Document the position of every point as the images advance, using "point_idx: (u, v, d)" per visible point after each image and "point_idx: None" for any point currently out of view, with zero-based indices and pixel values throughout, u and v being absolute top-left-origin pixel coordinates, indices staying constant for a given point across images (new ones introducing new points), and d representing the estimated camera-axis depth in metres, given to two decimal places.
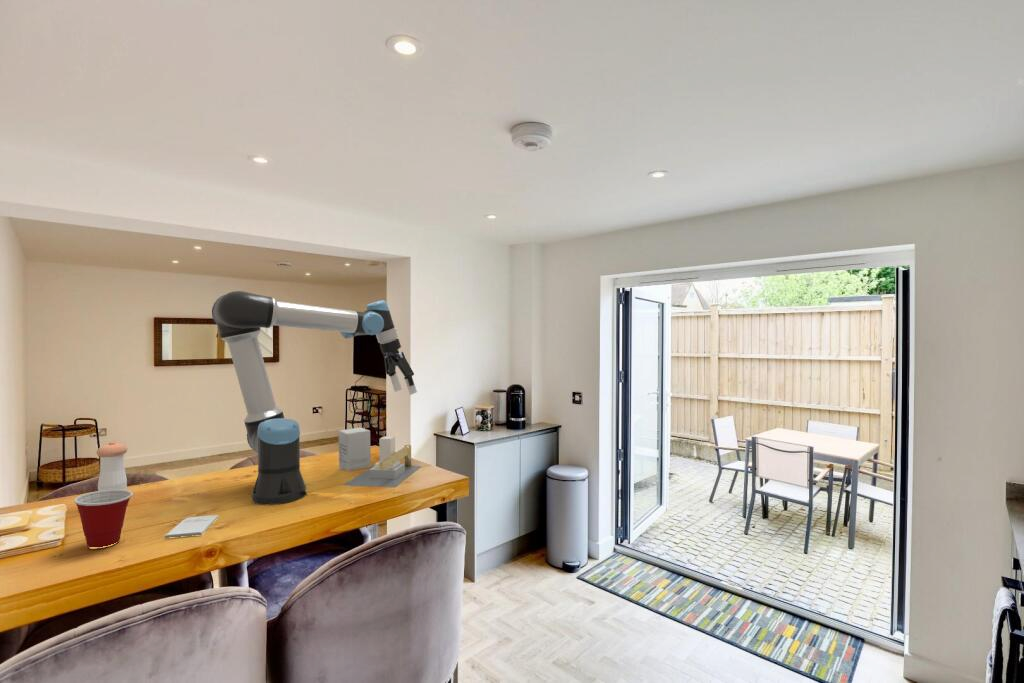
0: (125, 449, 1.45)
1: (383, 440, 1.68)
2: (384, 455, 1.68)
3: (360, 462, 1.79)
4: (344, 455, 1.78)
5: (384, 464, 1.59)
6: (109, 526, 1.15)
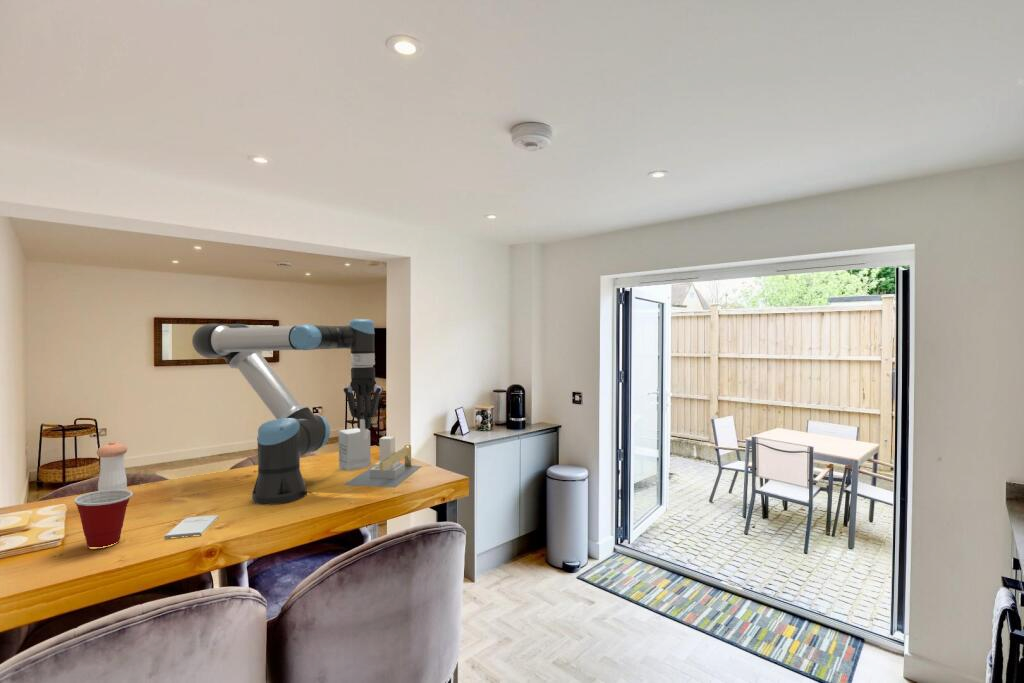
0: (125, 449, 1.45)
1: (383, 440, 1.68)
2: (384, 455, 1.68)
3: (360, 462, 1.79)
4: (344, 455, 1.78)
5: (384, 464, 1.59)
6: (109, 526, 1.15)
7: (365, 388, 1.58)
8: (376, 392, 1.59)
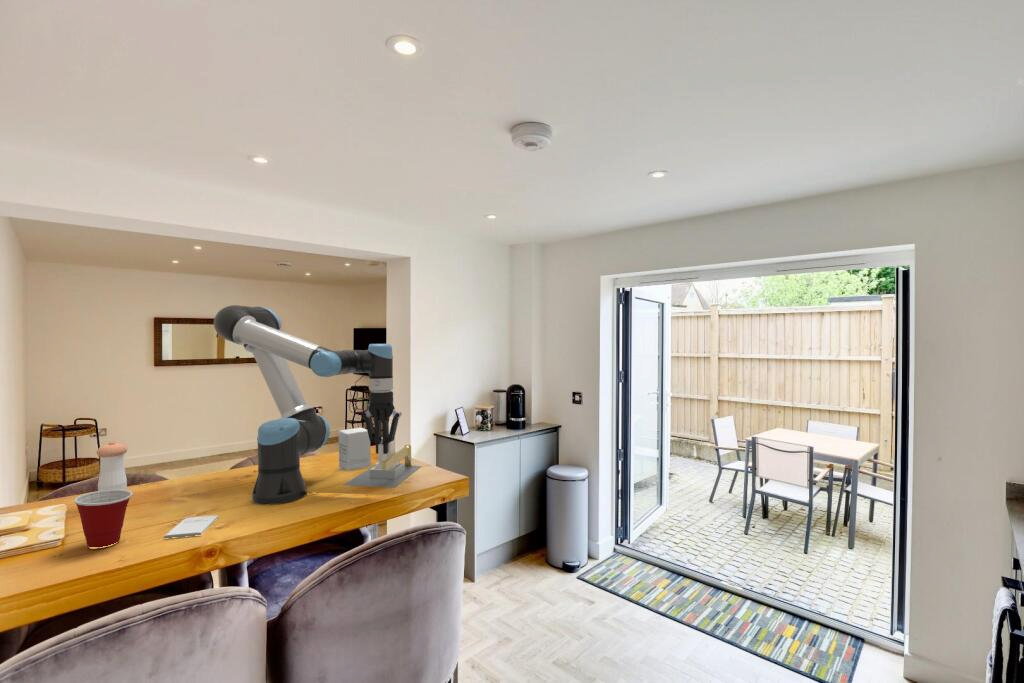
0: (125, 449, 1.45)
1: None
2: None
3: (360, 462, 1.79)
4: (344, 455, 1.78)
5: (386, 465, 1.58)
6: (109, 526, 1.15)
7: (384, 413, 1.58)
8: (395, 417, 1.58)
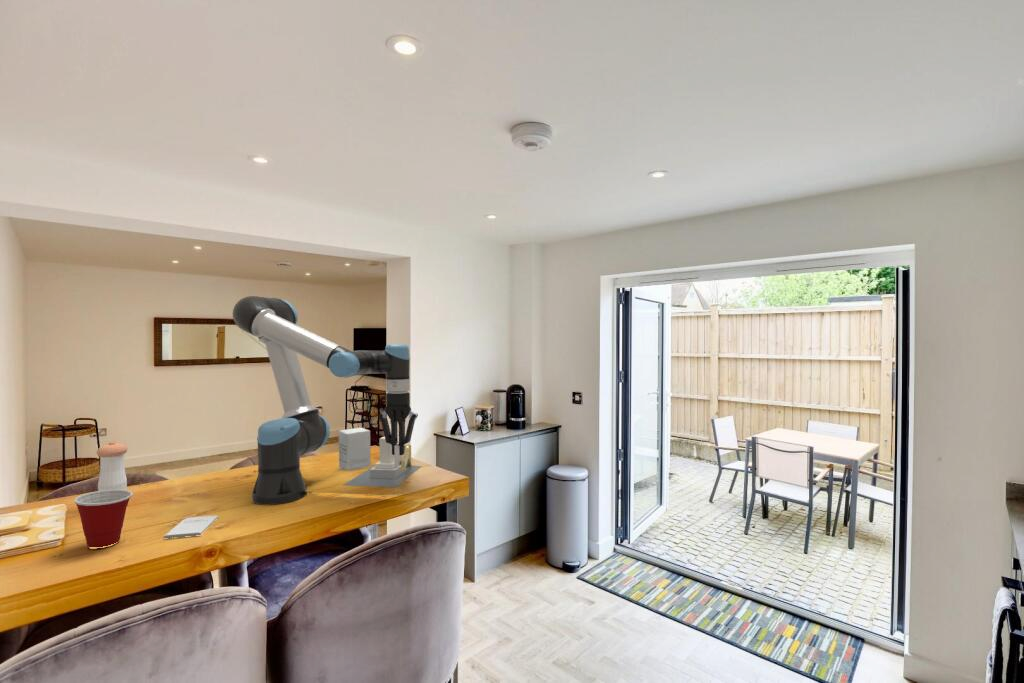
0: (125, 449, 1.45)
1: (383, 440, 1.68)
2: (384, 455, 1.68)
3: (360, 462, 1.79)
4: (344, 455, 1.78)
5: (405, 464, 1.59)
6: (109, 526, 1.15)
7: (400, 414, 1.57)
8: (411, 418, 1.57)
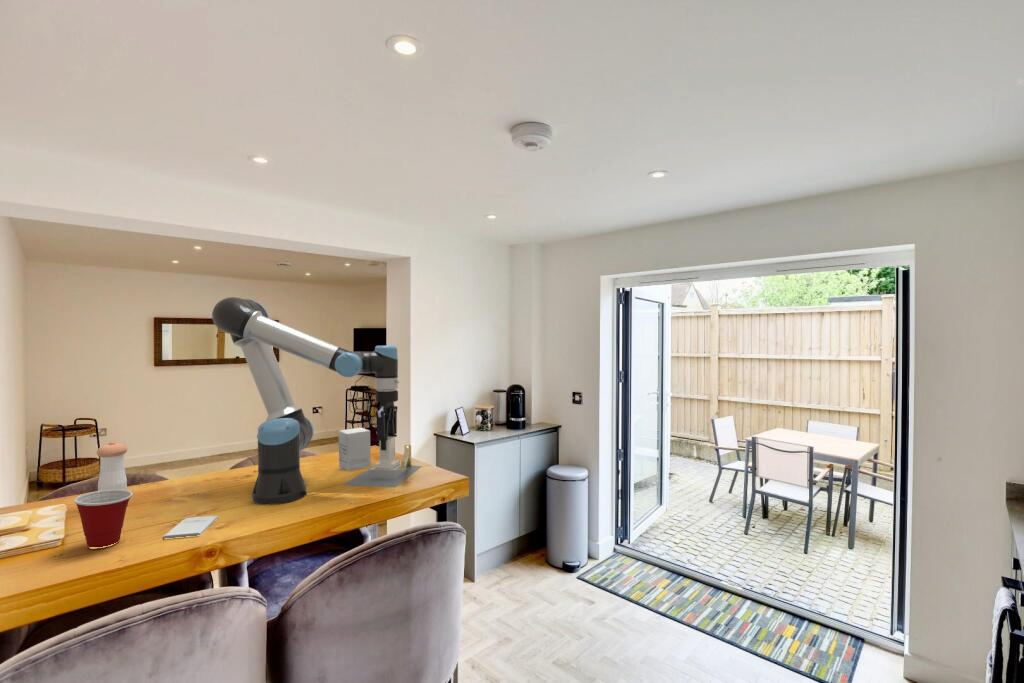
0: (125, 449, 1.45)
1: None
2: None
3: (360, 462, 1.79)
4: (344, 455, 1.78)
5: (405, 464, 1.59)
6: (109, 526, 1.15)
7: (393, 409, 1.71)
8: (396, 410, 1.75)
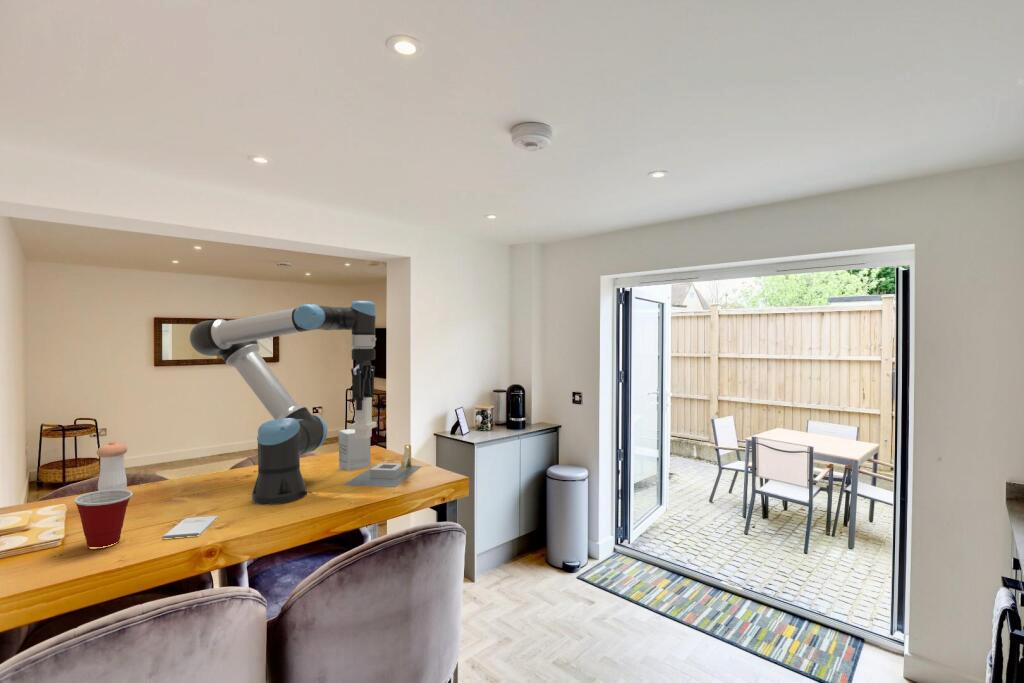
0: (125, 449, 1.45)
1: None
2: None
3: (360, 462, 1.79)
4: (344, 455, 1.78)
5: (405, 464, 1.59)
6: (109, 526, 1.15)
7: (370, 368, 1.63)
8: (373, 370, 1.67)
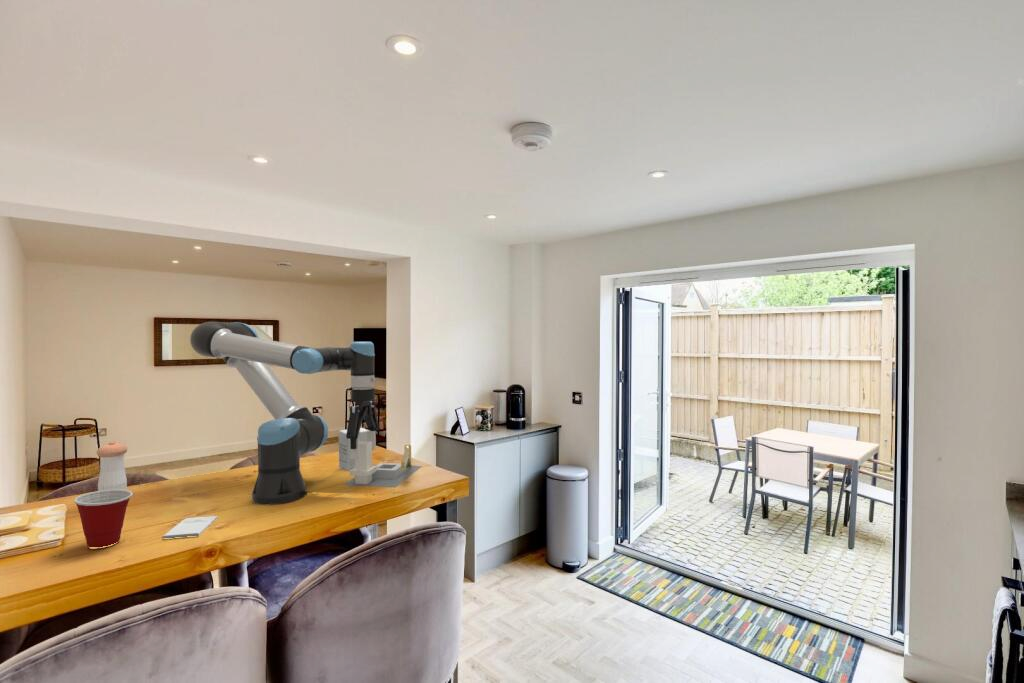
0: (125, 449, 1.45)
1: (359, 445, 1.60)
2: (359, 461, 1.60)
3: None
4: (344, 455, 1.78)
5: (405, 464, 1.59)
6: (109, 526, 1.15)
7: (370, 407, 1.63)
8: (374, 406, 1.67)
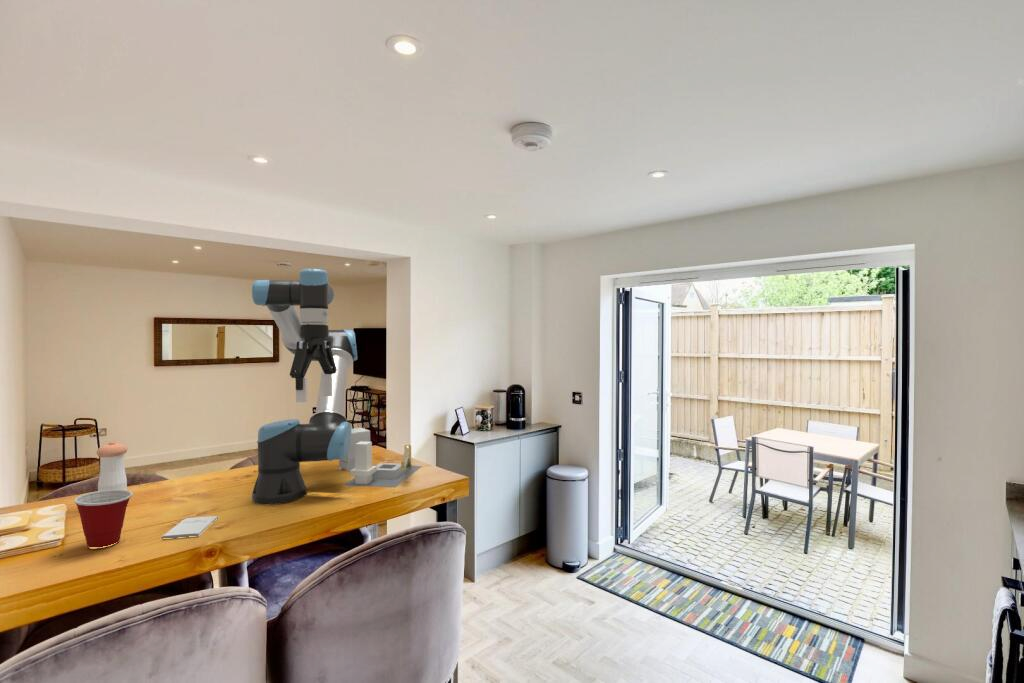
0: (125, 449, 1.45)
1: (359, 445, 1.60)
2: (359, 461, 1.60)
3: None
4: None
5: (405, 464, 1.59)
6: (109, 526, 1.15)
7: (324, 347, 1.41)
8: (329, 346, 1.45)
